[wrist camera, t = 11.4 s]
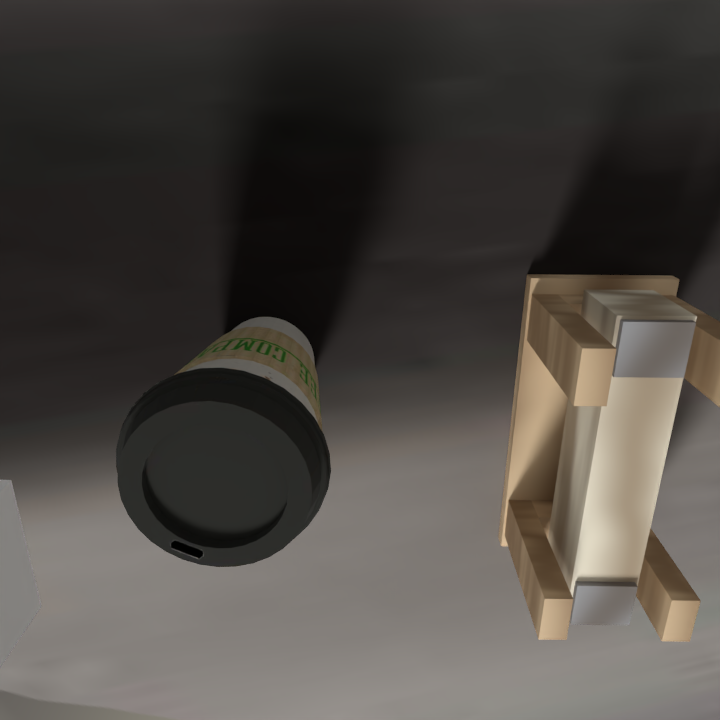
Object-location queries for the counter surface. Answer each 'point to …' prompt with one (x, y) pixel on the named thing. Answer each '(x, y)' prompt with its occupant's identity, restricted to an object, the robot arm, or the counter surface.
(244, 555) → the coffee cup
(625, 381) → the rail
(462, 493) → the counter surface
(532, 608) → the wooden stand
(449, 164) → the counter surface
